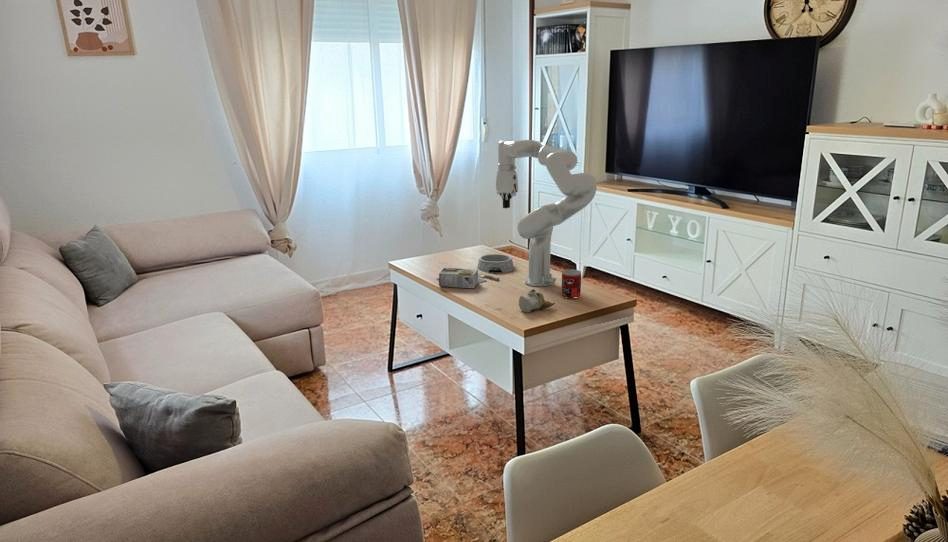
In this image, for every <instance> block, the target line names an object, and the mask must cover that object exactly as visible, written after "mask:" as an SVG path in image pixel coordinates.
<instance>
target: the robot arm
mask: <svg viewBox="0 0 948 542" xmlns="http://www.w3.org/2000/svg"><path fill="white" fill-rule="evenodd" d="M497 144H498V145H497V147H498V149H497V151H498V152H497V154H498V155H497V158H498V159H497V163H498V164H497V166H498V168H497V172H496V179H495V190H496V194H497V195H499V196H500V197H501V200H502V209H510V208H511V199H512V198H513V197H516V196H517V193H518V192H519V180H518V173H517V170H516V169H517V166H516V164H515V163H516V159H521V158H528V157H529V158H534V159H537V160H538V163H539V164H540V165H541V166H544V167H546V169H547V172H548V173H549V175H550V177H551V178H552V180H553V181H554V183H555V185H556V187H557V188H558V190H559V192H560V193H562V194H563V195H564V197H562V198H561V199H560V200H558V201H556V202H554V203H549V204H545V205H541V206H539V207H536V208H535V209H534V210H531V212H529V213H528V214H526V215H525V216H524V217H522V218H521V219H520V220H519V221H518V223H517V226H516V227H517V228H516V229H517V233H518V235H519V236H520V237H522V238H523V239H526V240H529V245H528V277H526V278H525V280H524V281H525V284H526V285H528V286H531V287H538V288H539V287H548V286H551V285H553V284H555V283H556V281H557V278H556V277H553V274H552V273H551V245H552V244H551V243H552V242H551V241H552V236H553V230H554V227H556V226H558V225H559V226H560V225H561V224H562V223H564V222H566V221H567V220H569V218H571V217H573V216H575V215H576V214H577V213H579V212H581V211H582V210H583V209H585V208H586V207H587V206H588V205H590V203H591V202H592V201H593V199H594V198H595V196H596V192H597V180H596V178H595V176H594V175H592V174H590V173H588V172H580V173H574V174H572V173H571V170H573V169H574V168H576V166H577V164H578V156H577V154H575V153H574V152H573V151H571V150H569V149H568V150H567V149H563V148H560V147H556V146H551V145H548V144H546V143H545V142H542V141H538V140H533V139H522V140H511V139H501V140H499V141H498V143H497Z"/></svg>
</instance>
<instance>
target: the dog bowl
mask: <svg viewBox="0 0 948 542" xmlns="http://www.w3.org/2000/svg"><path fill="white" fill-rule="evenodd" d="M476 269H478V271H479V272H483V273H484V272H485V273H489V271H501V273H507V272H510V271H513V270H514V269H515V266H514V262H513V257H511V255H508V254H502V253H490V254H489V253H488V254H484V255H481V256H480V257H479V258H478V263H477V267H476Z"/></svg>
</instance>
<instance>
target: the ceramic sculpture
mask: <svg viewBox="0 0 948 542" xmlns="http://www.w3.org/2000/svg"><path fill="white" fill-rule="evenodd" d="M555 304H556V302H551V301H548V300H545V296H544V294H543V293H542V292H540V291H537V290H535V289H531V290H528V292H527V294H526V295H520V297H519V298H518V306H519V309H520V310H521V311H522V312H523V313H530V312H531V311H532V310H534V311H536V310H540V309H549V308H551V307H553V306H554V305H555Z"/></svg>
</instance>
